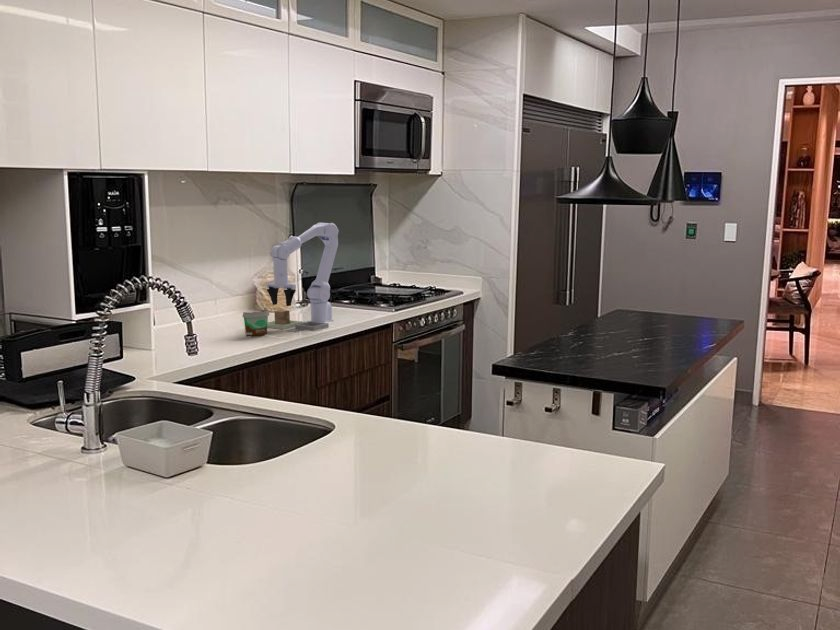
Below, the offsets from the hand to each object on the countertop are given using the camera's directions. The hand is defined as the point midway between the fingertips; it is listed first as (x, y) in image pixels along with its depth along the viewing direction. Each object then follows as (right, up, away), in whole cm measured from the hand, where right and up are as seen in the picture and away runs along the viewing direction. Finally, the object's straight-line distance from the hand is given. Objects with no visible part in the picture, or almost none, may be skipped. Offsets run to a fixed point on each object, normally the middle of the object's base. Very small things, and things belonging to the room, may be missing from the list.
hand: (281, 305), depth 356 cm
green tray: (0, -9, +1) cm, 9 cm away
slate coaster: (+7, -11, -10) cm, 17 cm away
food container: (-6, -13, -18) cm, 23 cm away
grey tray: (+13, -10, -4) cm, 17 cm away
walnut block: (0, -9, +1) cm, 9 cm away
